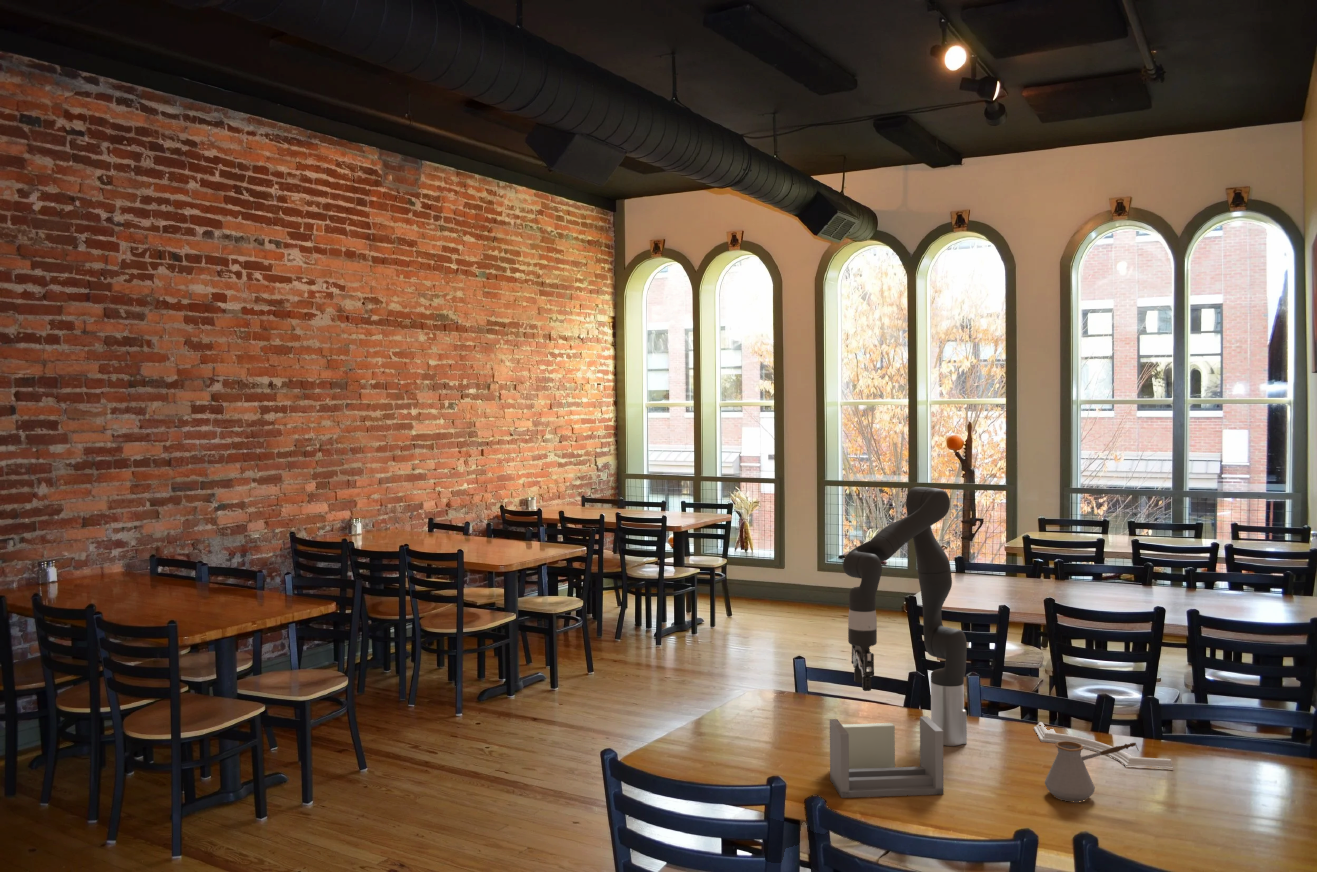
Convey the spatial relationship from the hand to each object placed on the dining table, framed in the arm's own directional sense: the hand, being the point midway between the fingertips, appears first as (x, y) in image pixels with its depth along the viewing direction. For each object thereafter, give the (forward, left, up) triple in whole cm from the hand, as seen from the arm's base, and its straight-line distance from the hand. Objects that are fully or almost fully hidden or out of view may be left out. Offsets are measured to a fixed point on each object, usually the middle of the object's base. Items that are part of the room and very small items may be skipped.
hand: (862, 686), depth 262 cm
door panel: (0, 0, -23) cm, 23 cm away
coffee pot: (-50, +25, -23) cm, 61 cm away
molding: (-71, -10, -23) cm, 75 cm away
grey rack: (-2, +13, -22) cm, 26 cm away
